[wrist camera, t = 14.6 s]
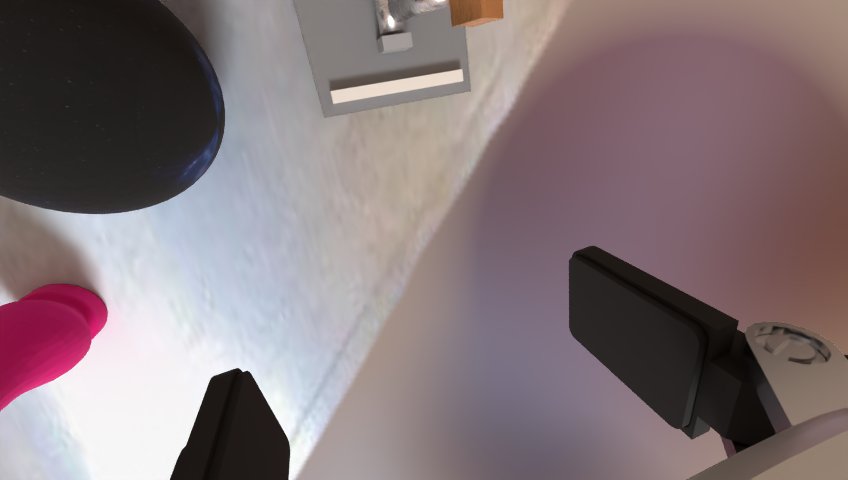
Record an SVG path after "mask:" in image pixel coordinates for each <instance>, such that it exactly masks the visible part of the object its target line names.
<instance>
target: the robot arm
mask: <svg viewBox="0 0 848 480" xmlns="http://www.w3.org/2000/svg"><path fill="white" fill-rule="evenodd" d="M738 322H739V321H738V320H736V319H734V318H732V317H730V316H728V315H726V314H725V313H723V312H721V311H718V310H717V309H715V308H713V307H711V306H709V305H707V304H705V303H703V302H702V301H699V300H698V299H696V298H694V297H692V296H690V295H688V294H686V293H684V292H682V291H680V290H678V289H677V288H675V287H673V286H671V285H669V284H667V283H665V282H663V281H661V280H659V279H657V278H656V277H654V276H652V275H650V274H648V273H646V272H644V271H642V270H640V269H638V268H636V267H634V266H632V265H631V264H629V263H627V262H624V261H623V260H621V259H619V258H617V257H615V256H613V255H611V254H610V253H608V252H606V251H604V250H602V249H600V248H598V247H595V246H589V247H586V248H584V249H581V250H578V251H576V252H574V253H573V255H572V258H571V259H570V260H569V328H570V331H571V333H572V335H573V337H574V338H575V339H576V340H577V341H578V342H580V343H581V344H582V345H583V346H584V347H585V348H586V349H587V350H588V351H589V352H590V353H591V354H593V355H594V356H595V357H596V358H597V359H598V360H599V361H600V362H601V363H602V364H603V365H605V366H606V367H607V368H608V369H609V370H610V371H611V372H612V373H613V374H614V375H615V376H617V377H618V378H619V379H620V380H621V381H622V382H623V383H624V384H625V385H627V386H628V387H629V388H630V389H631V390H632V391H633V392H634V393H635V394H636V395H637V396H638V397H640V398H641V399H642V400H643V401H644V402H645V403H646V404H647V405H648V406H649V407H650V408H652V409H653V410H654V411H655V412H656V413H657V414H658V415H659V416H660V417H661V418H663V419H664V420H665V421H666V422H667V423H668V424H669V425H671V426H672V427H674V428H676V429H681V430H682V431H683V432H684V433H685V434H686V435H687V436H688V437H690V438H691V439H694V438H696V437H698V436H700V435H702V434H704V433H706V432H708V431H709V430H710V427H712V428H713V429H714V430H715V431H716V432H717V433H719V434H720V437H721V439H722V443H723V445H724V449H725V452H726V454H727V459H725V460H723V461H721V462H719V463H718V464H715V465H713V466H712V467H710V468H708V469H706V470H704V471H702V472H700V473H698V474H696V475H694V476H692V477H690V478H689V479H687V480H848V355H843V353H841V351H840V350H839V349H838V348H837V347H836V346H835V345H834V344H833V343H832V342H831V341H829V340H827V339H826V338H824V337H822V336H820V335H819V334H817V333H815V332H812V331H810V330H807V329H805V328H802V327H799V326H795V325H792V324H787V323H781V322H759V323H754V324H752V325H750V326H749V327H747V329H746V331H745V334H744V333H743V332H741V331H739V330H737V326H738ZM289 462H290V446H289V441H288V438H287V436H286V435H285V433H284V431H283V429H282V427H281V426H280V424H279V422H278V420H277V419H276V417H275V415H274V413H273V412H272V410H271V408H270V406H269V405H268V403H267V401H266V399H265V397H264V396H263V394H262V392H261V390H260V389H259V387H258V385H257V383H256V382H255V380H254V378H253V376H252V375H251V373H250V372H249V371H245V372H242V371H241V370H240V369H239V368H236V369H233V370H230V371H227V372H224V373H221V374H219V375H216V376H213V377H212V378H211V380H210V382H209V384H208V387H207V390H206V393H205V395H204V398H203V401H202V404H201V406H200V409H199V412H198V415H197V417H196V420H195V423H194V426H193V428H192V431H191V434H190V437H189V439H188V442H187V445H186V446H185V447H184V448H183V449H182V451H181V453H180V455H179V457H178V459H177V462H176V465H175V467H174V470H173V473H172V475H171V478H170V480H288V477H289Z"/></svg>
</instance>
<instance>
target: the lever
mask: <svg viewBox="0 0 848 480" xmlns="http://www.w3.org/2000/svg"><path fill="white" fill-rule="evenodd" d="M374 1H375V7H376V12H377V18H378V23H379V29H380V34H381V35H392V34H397V33H401V32H403V31H405V30H404V23H403V22H404V21H406V20H409V19H412V18H415V17H418V16H421V15H424V14H426V13H429V12H432V11H435V10H438V9H441V8H444V7H446V6H449V5H450V13H451V23H452V27H474V26H478V25H481V24H485V23H488V22H492V21H495V20H499V19H502V18H503V0H374Z"/></svg>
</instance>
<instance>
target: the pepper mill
mask: <svg viewBox="0 0 848 480" xmlns="http://www.w3.org/2000/svg"><path fill="white" fill-rule="evenodd" d="M106 321H107V309H106V307H105V305H104V304H103V302H102V301H101V300H100V299H99V298H98V297H97V296H96V295H95V294H93V293H92V292H90V291H88V290H86V289H83V288H81V287H78V286H74V285H68V284H52V285H47V286H43V287H40V288H38V289H36V290H34V291H32V292H31V293H29V294H28V295H26V296H25V297H23V298H22V299H21V300H19V301H17V302H12V303H8V304H5V305H2V306H0V411H1V410H2V409H3V408H4V407H6V406H7V405H8V404H9V403H10V402H11V401H13V400H14V399H15V398H16V397H18V396H19V395H21V394H23V393H25V392H27V391H29V390H31V389H34V388H36V387H38V386H41V385H43V384H45V383H48V382H50V381H53V380H54V379H56V378H58V377H59V376H61V375H63V374H65V373H66V372H68V371H69V370H71V369H72V368H73V367H74V366H75V365H76V364H77V363H78V362H79V361H81V360H82V359H83V358H84V356H85V355H86V353H87V352H88V350H89V348H90V345H91V340H92V339H93V338H94V337H95V336H96V335H97V334H98V333H99V332H100V331H101V329H102V328H103V327H104V326H105V323H106Z"/></svg>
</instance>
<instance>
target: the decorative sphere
mask: <svg viewBox="0 0 848 480" xmlns="http://www.w3.org/2000/svg"><path fill="white" fill-rule="evenodd" d="M224 127H225V108H224V100H223V95H222V91H221V87H220V84H219V81H218V78H217V76H216V73H215V71H214V69H213V67H212V65H211V63H210V61H209V59H208V57H207V55H206V54H205V52H204V50H203V49H202V47H201V46H200V44H199V43H198V42H197V40H196V39H195V37H194V36H193V35H192V34H191V32H190V31H189V30H188V29H187V28H186V26H185V25H184V24H183V23H182V22H181V21H180V20H179V19H178V18H177V17H176V16H175V15H174V14H173V13H172V12H171V11H170V10H169V9H168V8H167V7H166V6H164V5H163V4H162V3H161V2H160V1H159V0H0V195H1V196H4V197H7V198H9V199H12V200H15V201H19V202H22V203H25V204H29V205H33V206H37V207H41V208H45V209H51V210H56V211H62V212H71V213H83V214H110V213H121V212H128V211H133V210H139V209H143V208H146V207H150V206H153V205H156V204H159V203H161V202H164V201H166V200H169V199H171V198H173V197H174V196H176V195H178V194H180V193H181V192H183V191H185V190H186V189H187V188H189V187H190V186H192V185H193V184H194V183H195V182H196V181H197V180H198V179H199V178H200V177H201V176H202V175H203V174H204V173H205V172H206V171H207V169H208V168H209V167H210V165H211V164H212V162H213V160H214V159H215V157H216V155H217V153H218V150H219V148H220V145H221V142H222V138H223V134H224Z"/></svg>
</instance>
